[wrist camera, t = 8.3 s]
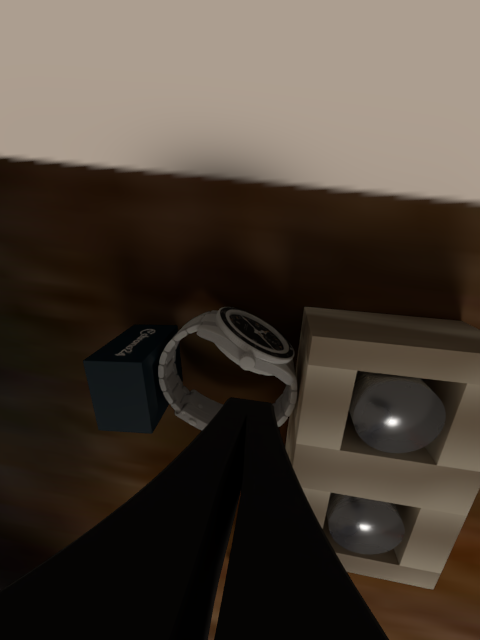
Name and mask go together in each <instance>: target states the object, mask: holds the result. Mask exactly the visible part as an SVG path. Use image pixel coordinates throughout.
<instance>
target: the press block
mask: <svg viewBox="0 0 480 640" xmlns="http://www.w3.org/2000/svg"><path fill="white" fill-rule="evenodd" d="M357 371H365V372H373V373H382V374H390V375H399V376H407V377H416V378H421V379H422V380H423V381H424V382H425V383H426V384H427V385H428V386H429V387H430V388H431V390H432V391H433V392H434V393H435V394H436V395H437V396H438V397H439V398H440V400H441V401H442V403H443V405H444V408H445V413H446V419H445V424H444V427H443V429H442V431H441V432H440V434H439V435H438V436H437V438H436V439H434V440H433V441H432V442H431V443H430V444H428V445H426V446H425V447H423V448H421V449H418V450H415V451H412V452H407V453H388V452H383V451H380V450H377V449H375V448H373V447H371V446H369V445H368V444H366V443H365V442H364V441H363V440H362V439H361V438H360V437H359V435H358V433H357V432H356V429H355V426H354V424H353V421H352V418H351V415H350V413H349V406H350V401H351V397H352V392H353V388H354V383H355V379H356V374H357ZM295 374H296V379H297V400H296V403H295V404H294V405H295V407H294V409H293V411H292V413H291V415H290V416H289V423H288V430H287V437H286V445H285V449H286V451H287V454H288V456H289V459H290V462H291V464H292V467H293V469H294V471H295V474H296V476H297V478H298V480H299V483H300V485H301V487H302V489H303V491H304V494H305V496H306V498H307V500H308V502H309V504H310V506H311V508H312V510H313V512H314V514H315V516H316V518H317V520H318V522H319V524H320V525H321V527H322V529H323V531H324V533H325V535H326V536H327V538H328V540H329V542H330V544H331V546H332V547H333V549H334V551H335V553H336V554H337V556H338V558H339V560H340V561H341V563H342V565H343V566H344V568H345V570H346V572H351V573H356V574H360V575H365V576H370V577H375V578H380V579H385V580H389V581H394V582H399V583H404V584H409V585H414V586H418V587H423V588H428V589H434V587H435V585H436V583H437V580H438V578H439V576H440V574H441V572H442V569H443V567H444V565H445V563H446V561H447V558H448V556H449V554H450V552H451V550H452V547H453V545H454V543H455V541H456V539H457V536H458V534H459V532H460V530H461V528H462V525H463V523H464V521H465V519H466V517H467V514H468V512H469V510H470V508H471V506H472V503H473V501H474V499H475V497H476V495H477V492H478V490H479V488H480V330H479V329H477V328H475V327H473V326H471V325H469V324H467V323H465V322H463V321H457V320H446V319H435V318H424V317H413V316H402V315H391V314H380V313H369V312H358V311H347V310H336V309H325V308H315V307H304V312H303V320H302V327H301V334H300V342H299V349H298V356H297V364H296V371H295ZM330 493H337V494H343V495H348V496H354V497H360V498H366V499H371V500H377V501H383V502H389V503H395V505H396V507H397V509H398V512H399V514H400V517H401V519H402V522H403V524H404V528H405V534H404V537H403V539H402V541H401V542H400V544H399V545H398V546H396V547H395V548H393V549H392V550H390V551H387V552H384V553H380V554H369V555H368V554H359V553H355V552H352V551H349V550H347V549H345V548H343V547H342V546H340V545H339V544H338V543H337V542H336V541H335V540H334V539H333V538H332V536H331V534H330V531H329V525H328V519H327V512H326V511H327V507H328V502H329V497H330Z"/></svg>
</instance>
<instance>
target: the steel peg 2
mask: <svg viewBox="0 0 480 640" xmlns="http://www.w3.org/2000/svg"><path fill="white" fill-rule="evenodd" d="M326 512H327V519H328V525H329V531H330V534H331V536H332V538H333V539H334V540H335V541H336V542H337V543H338V544H339V545H340V546H342V547H343V548H345V549H347V550H349V551H352V552H355V553H359V554H368V555H369V554H380V553H384V552H387V551H390V550H392V549H393V548H395V547H396V546H398V545H399V544H400V542H401V541H402V539H403V537H404V534H405V528H404V524H403V522H402V519H401V517H400V514H399V512H398V509H397V507H396V505H395V503H389V502H383V501H377V500H371V499H366V498H360V497H354V496H348V495H343V494H337V493H330V497H329V502H328V507H327V511H326Z"/></svg>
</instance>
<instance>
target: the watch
mask: <svg viewBox="0 0 480 640" xmlns="http://www.w3.org/2000/svg"><path fill="white" fill-rule="evenodd" d="M196 331H198V332H197V335H198V336H199V337H201V338H204V339H207V340H209V341H212V342H214V343H215V344H216V346H217V347H218V348H219V349H220V350H221V352H223V353H224V354H225V355H226V356H227V357H228V358H229V359H231V360H232V361H233V362H235V363H236V364H238V365H240V367H241V368H243V370H248V371H252V372H254V373H257V374H263V375H267V376H272V375H274V376H276V377H277V378H279V379H280V380H281V381H283V382H284V383H285V384H287V385H286V387H285V389H284V391H283V394H281V396H280V397H279V398H278V399H277V400H276V404H275V403H273V404H272V405H273V406H274V411H275V417H276V421H277V425H278V427H280V426H281V425H282V424H283V423H284V422H285V421H286V420H287V419H288V417H289V416H290V415H291V413H292V411H293V409H294V407H295V405H294V404H295V403H296V400H297V379H296V374H295V368H294V361H293V357H294V350H293V347H292V346H291V344H290V343H289V341H288V340H287V339H286V338H285V337H284V336H283V335H282V334H281V333H280V332H279V331H278V330H277V329H275V328H274V327H273V326H271V325H270V324H269V323H267V322H266V321H264V320H262V319H261V318H259V317H257V316H255V315H253V314H251V313H249V312H246V311H244V310H241V309H237V308H233V307H223V308H220V309H219V311H213V310H212V311H211V313H210V312H206V313H203V314H201V315H199V316H197V317H195V318H193V319H191V320H190V321H189V322H187V323H186V324H185V325H184V326H183V327H182V328H181V329H180V330H179V331H178V327H177V326H176V325H133V326H132V327H130V328H129V329H127V330H126V331H125V332H123V333H122V334H120V335H119V336H118V337H116V338H115V339H113V340H112V341H110V342H109V343H108V344H106V345H105V346H103V347H102V348H100V349H99V350H98V351H96V352H95V353H93V354H92V355H91V356H89V357H88V358H86V359H85V360H83V363H84V367H85V372H86V376H87V381H88V385H89V389H90V394H91V398H92V403H93V407H94V411H95V416H96V420H97V425H98V429H99V430H105V431H120V432H136V433H153V431H154V429H155V428H156V426H157V424H158V422H159V421H160V419H161V417H162V416H163V414H164V412H165V410H166V409H167V407H168V405H169V404H171V403H172V404H171V406H172V408H173V409H174V410H175V415H176V416H178V417H179V418H181V419H182V420H184V421H185V422H187V423H189V424H190V425H192V426H194V427H196V428H198V429H200V430H203V429H204V428H205V427H206V426H207V425H208V423H209V422H210V421H211V420H212V419H213V418H214V416H215V415H216V414H217V413H218V411H219V410H220V409H221V407H222V406H223V404H220V403H218V402H215V401H213V400H211V399H209V398H207V397H205V396H204V395H202V394H200V393H199V392H197V391H196V390H194V389H193V390H191V391H189V390H188V389H187V388H186V387H185V386H182V385H183V383H182V381H183V379H182V368H181V358H180V348H179V341H180V340H181V339H182V338H184V337H185V336H187V335H188V333H189V334H191V333H193V332H196Z"/></svg>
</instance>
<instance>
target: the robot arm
mask: <svg viewBox="0 0 480 640" xmlns="http://www.w3.org/2000/svg"><path fill="white" fill-rule="evenodd" d="M240 491H241V497H240V503H239V508H238V514H237V520H236V525H235V531H234V537H233V542H232V548H231V553H230V558H229V564H228V569H227V575H226V580H225V586H224V591H223V596H222V602H221V607H220V612H219V617H218V623H217V628H216V633H215V639H214V640H389V639H388V637H387V636H386V634H385V633H384V631H383V629H382V628H381V626H380V625H379V623H378V621H377V620H376V618H375V617H374V615H373V614H372V612H371V610H370V609H369V607H368V606H367V604H366V602H365V601H364V599H363V598H362V596H361V595H360V593H359V591H358V590H357V588H356V587H355V585H354V583H353V582H352V580H351V579H350V577H349V575H348V573H347V572H346V570H345V568H344V566H343V565H342V563H341V561H340V560H339V558H338V556H337V554H336V553H335V551H334V549H333V547H332V546H331V544H330V542H329V540H328V538H327V536H326V535H325V533H324V531H323V529H322V527H321V525H320V524H319V522H318V520H317V518H316V516H315V514H314V512H313V510H312V508H311V506H310V504H309V502H308V500H307V498H306V496H305V494H304V491H303V489H302V487H301V485H300V483H299V480H298V478H297V476H296V474H295V471H294V469H293V467H292V464H291V462H290V459H289V456H288V454H287V451H286V449H285V446H284V443H283V441H282V438H281V435H280V431H279V428H278V425H277V421H276V417H275V411H274V406H273V405H272V404H271V403H268V402H261V401H254V400H246V399H239V398H232V397H231V398H229V399H228V400H227V401H226V402H225V403H224V405H223V406H222V407H221V409H220V410H219V411H218V413H217V414H216V415H215V416H214V418H213V419H212V420H211V421H210V422H209V423H208V425H207V426H206V427H205V428H204V429H203V430H202V431H201V432H200V434H199V435H198V436H197V437H196V438H195V439H194V440H193V441H192V442H191V443H190V444H189V445H188V446H187V447H186V448H185V449H184V450H183V451H182V452H181V453H180V454H179V455H178V456H177V457H176V458H175V459H174V460H173V461H172V462H171V463H170V464H169V465H168V466H167V467H166V468H165V469H164V470H163V471H162V472H161V473H159V474H158V475H157V476H156V477H155V478H154V479H153V480H152V481H151V482H149V483H148V484H147V485H146V486H145V487H144V488H142V489H141V490H140V491H139V492H138V493H136V494H135V495H134V496H133V497H132V498H130V499H129V500H128V501H127V502H126V503H124V504H123V505H122V506H120V507H119V508H118V509H116V510H115V511H114V512H113V513H111V514H110V515H109V516H107V517H106V518H105V519H104V520H102V521H101V522H100V523H98V524H97V525H96V526H94V527H93V528H92V529H90V530H89V531H88V532H86V533H85V534H84V535H82V536H81V537H79V538H78V539H77V540H75V541H74V542H72V543H71V544H70V545H68V546H67V547H65V548H64V549H62V550H61V551H59V552H58V553H56V554H55V555H53V556H52V557H50V558H49V559H48V560H46V561H45V562H43V563H42V564H40V565H39V566H37V567H36V568H34V569H33V570H31V571H30V572H28V573H27V574H25V575H24V576H22V577H21V578H19V579H18V580H16V581H15V582H13V583H12V584H10V585H9V586H7V587H6V588H4V589H3V590H1V591H0V640H208V635H209V629H210V623H211V617H212V612H213V606H214V601H215V596H216V592H217V587H218V582H219V578H220V574H221V570H222V566H223V561H224V557H225V553H226V549H227V545H228V541H229V537H230V533H231V529H232V525H233V520H234V516H235V512H236V508H237V504H238V500H239V496H240Z"/></svg>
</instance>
